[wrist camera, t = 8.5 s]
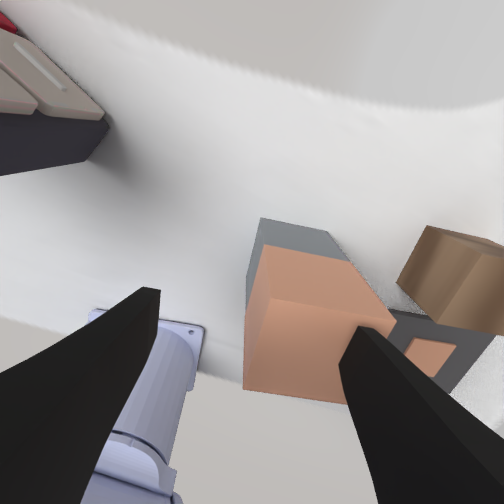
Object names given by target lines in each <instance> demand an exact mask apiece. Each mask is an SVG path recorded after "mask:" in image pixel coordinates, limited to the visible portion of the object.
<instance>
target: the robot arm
mask: <svg viewBox="0 0 504 504" xmlns="http://www.w3.org/2000/svg"><path fill="white" fill-rule="evenodd" d="M160 294H161V290H159V289H153V288H148V287H141V288H140V289H138V290H137V291H135V292H134V293H133V294H131V295H130V296H128V297H127V298H125V299H124V300H123V301H121V302H120V303H118V304H117V305H115V306H114V307H112V308H111V309H110V310H108V311H103V310H97V309H94V310H92V311H91V312H90V313H89V315H88V319H89V322H88V323H87V324H86V325H85V326H84V327H82V328H80V329H79V330H77V331H75V332H74V333H72V334H70V335H69V336H67V337H65V338H64V339H62V340H61V341H59V342H57V343H56V344H54V345H52V346H50V347H49V348H47V349H45V350H43V351H41V352H40V353H38V354H36V355H34V356H32V357H30V358H29V359H27V360H25V361H23V362H21V363H19V364H17V365H15V366H13V367H11V368H9V369H7V370H5V371H3V372H1V373H0V504H183V502H182V499H181V497H180V496H179V495H178V494H177V493H175V492H173V488H174V483H175V478H176V474H177V471H176V470H175V469H172V468H170V467H169V466H168V465H169V460H170V456H171V452H172V448H173V444H174V440H175V436H176V432H177V428H178V423H179V419H180V415H181V411H182V407H183V403H184V399H185V395H186V391H191V390H193V387H194V382H195V376H196V371H197V365H198V360H199V354H200V349H201V343H202V338H203V332H204V330H203V328H202V327H200V326H194V325H188V324H182V323H176V322H170V321H164V320H158V319H159V307H160ZM190 330H193V331H194V332H191V331H190ZM338 366H339V372H340V377H341V382H342V387H343V391H344V395H345V398H346V401H347V404H348V407H349V410H350V414H351V417H352V419H353V422H354V425H355V428H356V431H357V434H358V437H359V440H360V443H361V446H362V449H363V452H364V455H365V458H366V461H367V464H368V467H369V471H370V474H371V477H372V480H373V484H374V488H375V492H376V496H377V500H378V504H504V439H503V438H502V437H500V436H499V435H498V434H496V433H495V432H494V431H492V430H491V429H490V428H489V427H487V426H486V425H485V424H483V423H482V422H481V421H480V420H478V419H477V418H476V417H475V416H473V415H472V414H471V413H470V412H469V411H467V410H466V409H465V408H464V407H463V406H461V405H460V404H459V403H458V402H457V401H456V400H454V399H453V398H452V397H451V396H450V395H448V394H447V393H446V392H445V391H444V390H443V389H442V388H440V387H439V386H438V385H437V384H436V383H435V382H434V381H432V380H431V379H430V378H429V377H428V376H427V375H426V374H425V373H424V372H422V371H421V370H420V369H419V368H418V367H417V366H416V365H415V364H414V363H413V362H411V361H410V360H409V359H408V358H407V357H406V356H405V355H404V354H403V353H402V352H401V351H399V350H398V349H397V348H396V347H395V346H394V345H393V344H392V343H391V342H389V341H388V340H387V339H386V338H385V337H384V336H383V335H381V334H380V333H379V332H378V331H376V330H375V329H374V328H369V327H364V326H358V327H357V329H356V331H355V333H354V334H353V336H352V338H351V340H350V342H349V344H348V346H347V348H346V350H345V352H344V354H343V356H342V358H341V360H340V362H339V363H338Z"/></svg>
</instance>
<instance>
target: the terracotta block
mask: <svg viewBox="0 0 504 504" xmlns="http://www.w3.org/2000/svg"><path fill="white" fill-rule="evenodd" d="M396 322H397V321H396V319H395V318H394V317H393V316H392V314H391V313H390V312H389V310H388V309H387V308H386V307H385V305H384V304H383V303H382V302H381V300H380V299H379V298H378V296H377V295H376V294H375V293H374V291H373V290H372V289H371V287H370V286H369V285H368V284H367V282H366V281H365V280H364V278H363V277H362V276H361V275H360V273H359V272H358V271H357V269H356V268H355V267H354V266H353V264H352V263H351V262H349V261H344V260H339V259H334V258H329V257H324V256H319V255H314V254H310V253H305V252H300V251H295V250H290V249H285V248H280V247H275V246H271V245H266V244H264V246H263V250H262V254H261V257H260V261H259V265H258V269H257V272H256V276H255V280H254V284H253V287H252V291H251V295H250V299H249V302H248V306H247V310H246V314H245V326H244V361H243V390H250V391H257V392H264V393H271V394H277V395H284V396H291V397H298V398H305V399H312V400H318V401H325V402H332V403H339V404H346V405H348V404H347V401H346V398H345V395H344V391H343V387H342V382H341V377H340V372H339V366H338V363H339V362H340V360H341V358H342V356H343V354H344V352H345V350H346V348H347V346H348V344H349V342H350V340H351V338H352V336H353V334H354V333H355V331H356V329H357V327H358V326H364V327H369V328H374V329H375V330H376V331H378V332H379V333H380V334H381V335H383V336H384V337H385V338H386V339H387V337H388V336H389V334H390V332H391V331H392V329H393V327H394V325H395V324H396Z"/></svg>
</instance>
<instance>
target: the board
mask: <svg viewBox="0 0 504 504" xmlns="http://www.w3.org/2000/svg"><path fill="white" fill-rule="evenodd" d="M388 310H389V312H390V313H391V314H392V316H393V317H394V318H395V319H396V321H397V322H396V324H395V325H394V327H393V329H392V331H391V332H390V334H389V336H388V337H387V340H388V341H389V342H391V343H392V344H393V345H394V346H395V347H396V348H397V349H398V350H399V351H401V352H402V353H403V354H404V355H405V356H406V357H407V358H408V359H409V360H410V361H411V362H413V363H414V364H415V365H416V366H417V367H418V368H419V369H420V370H421V371H422V372H424V373H425V374H426V375H427V376H428V377H429V378H430V379H431V380H432V381H434V382H435V383H436V384H437V385H438V386H439V387H440V388H442V389H443V390H444V391H445V392H446V393H449V394H450V393H451V391H452V390H453V389H454V388H455V386H456V385H457V384H458V383H459V381H460V380H461V379H462V378H463V376H464V375H465V374H466V373H467V371H468V370H469V369H470V368H471V366H472V365H473V364H474V363H475V361H476V360H477V359H478V358H479V356H480V355H481V354H482V353H483V351H484V350H485V349H486V348H487V346H488V345H489V344H490V343H491V341H492V340H493V339H494V338H495V336H496V335H495V334H490V333H484V332H479V331H474V330H468V329H463V328H457V327H452V326H447V325H441V324H436V323H435V322H434V321H433V320H432V319H431V318H430V317H429V316H425V315H420V314H414V313H409V312H403V311H398V310H393V309H388Z"/></svg>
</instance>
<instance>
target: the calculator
mask: <svg viewBox="0 0 504 504" xmlns="http://www.w3.org/2000/svg"><path fill="white" fill-rule="evenodd" d="M16 31H17V28H16V27H15V26H14V25H13V24H12V23H11V22H10V21H9V20H8V19H7V18H6V17H5V16H4V15H3V14H2V13H1V12H0V176H3V175H9V174H15V173H21V172H27V171H33V170H38V169H44V168H50V167H56V166H62V165H67V164H73V163H79V162H84V161H85V160H86V159H87V158H88V156H89V155H90V154H91V153H92V151H93V150H94V149H95V147H96V146H97V145H98V143H99V142H100V141H101V139H102V138H103V137H104V135H105V134H106V132H107V131H108V129H109V125H108V124H107V123H106V122H105V121H104V120H103V119H102V117H103V115H104V114H105V112H104V111H103V110H102V109H101V108H100V107H99V106H98V105H97V104H96V103H95V102H94V101H93V100H92V99H91V98H90V97H89V96H88V95H87V94H86V93H85V92H84V91H82V90H81V89H80V88H79V87H78V86H77V85H76V84H75V83H74V82H73V81H72V80H71V79H70V78H69V77H68V76H67V75H66V74H65V73H64V72H63V71H62V70H61V69H60V68H58V67H57V66H56V65H55V64H54V63H53V62H52V61H51V60H50V59H49V58H48V57H47V56H46V55H45V54H44V53H43V52H42V51H41V50H40V49H39V48H38V47H36V46H35V45H34V44H33V43H32V42H30V41H29V40H27V39H25V38H22V37H20V36H17V35H15V33H16Z"/></svg>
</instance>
